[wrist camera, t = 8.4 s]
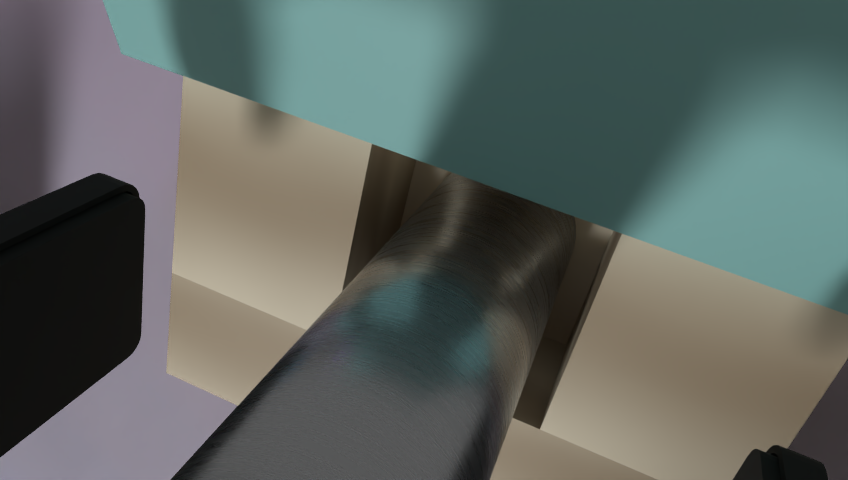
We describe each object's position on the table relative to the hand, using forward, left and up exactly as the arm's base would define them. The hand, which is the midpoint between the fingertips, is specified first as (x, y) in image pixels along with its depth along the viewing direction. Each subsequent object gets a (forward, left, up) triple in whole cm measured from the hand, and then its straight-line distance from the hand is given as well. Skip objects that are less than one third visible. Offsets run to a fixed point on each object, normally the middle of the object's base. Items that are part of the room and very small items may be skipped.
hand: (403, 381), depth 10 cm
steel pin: (0, 0, -6) cm, 6 cm away
